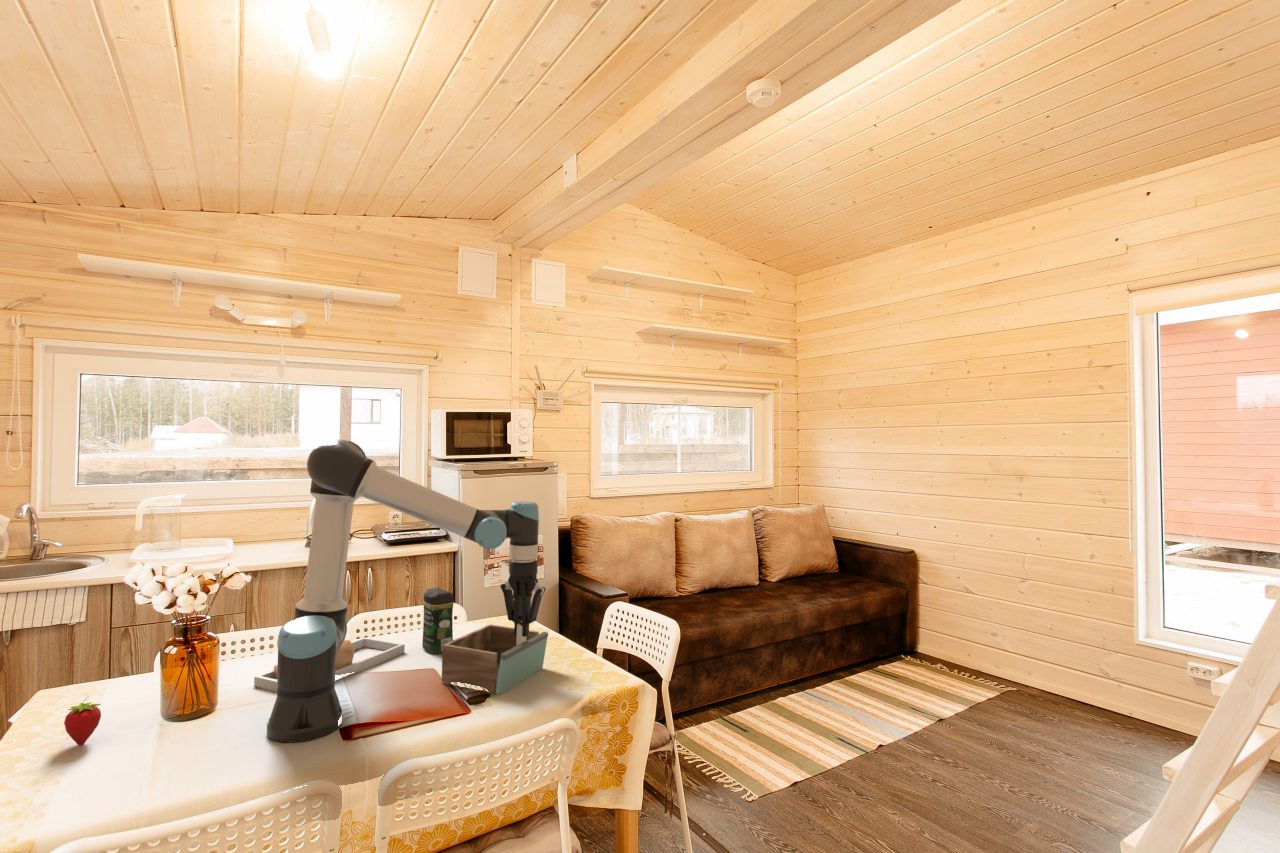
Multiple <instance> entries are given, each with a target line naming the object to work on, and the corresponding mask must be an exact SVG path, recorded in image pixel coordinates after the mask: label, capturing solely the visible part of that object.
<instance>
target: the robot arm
mask: <svg viewBox="0 0 1280 853" xmlns="http://www.w3.org/2000/svg"><path fill="white" fill-rule="evenodd" d="M306 470H307V473H308V476H309V478H310V479H311V483H310V489H309V490H310V491H309V494H310V495H312V496H313V498H314V499H315V505H314V506H315V507H314V513H313V522H312V529H311V536H310V537H311V538H310V545H309V551H308V552H309V553H308V558H307V559H308V561H307V568H306V577H305V583H304V584H305V585H304V590H303V591H304V593H303V597H302V599H300V600H299V601H298V602H297V603H296V604H295V608H294V614H293V620H290V621H288V622H286V623H285V624H283V626H281V628H280V629H279V633H278V637H277V665H278V672H277V692H276V698H275V701H274V704H273V707H272V710H271V714H270V717H269V718H268V720H267V724H266V736H267V737H268V739H270V740H272V741H275V742H280V743H297V742H306V741H310V740H315V739H317V738H321V737H324V736H327V735H329V734H330V733H331V734H332V732H334V731H336V730H337V729H339V727H338V720H339V718H340V717H341V715H342V713H343V709H342V707H341V704H340V703H341V702H340V700H339V697H338V694H337V692H336V681H335V661H336V655H337V652H338V650H339V648H340V646H341V645H342V643H343V641H344V640H346V636H347V632H348V625H347V624H348V623H347V613H348V603H347V601H345V599H344V598H343V592H344V583H345V576H346V569H347V560H348V552H349V551H348V550H349V544H350V543H349V542H350V537H351V528H352V521H353V512H354V506H355V504H354V503H355V502H356V501H357V500H358V499H359V498H365V499H366V500H367V499H368V500H370V501H372V502H374V503H378V504H379V505H382V506H384V507H387V508H390V509H393V510H394V511H397V512H400V513H402V514H405V515H408V516H410V517H413V518H415V519H417V520H420V521H423V522H425V523H428V524H429V525H433V526H435V527H437V528H440V529H442V530H444V531H447V532H450V533H452V534H454V535H458V536H459V537H463V538H465V539H467V540H469V541H471V542H474V543H476V544H478V545H479V546H480V547H482V548H484V549H486V550H487V549H488V550H493V549H497V548H499V547H500V546H502V545H503V544H504V542H505V541H506V539H509V553H508V554H509V555H508V558H509V559H510V560H509V563H508V574H509V577H508V578H507V581H506V582H504V583H502V584H500V586H499V587H500V589H501V591H502V593H503V598H504V604H505V609H506V616H507V620H509V621H512V622H513V624H514V627H513V628H514V634H515V635H517V641H516V646H517V645H519V644H521V643H523V642H525V641H526V636H528V635H529V630H530V624H532V623H534V622H536V621H537V618H538V613H539V609H540V606H541V600H542V598H543V595H544V594H545V592H546V587H544V586H541V585H540V584H539V581H538V578H537V575H538V563H539V562H538V560H537V559H538V554H539V553H538V550H539V524H540V519H539V518H540V515H539V514H540V513H539V504H537V503H536V502H534V501H513V502H512V503H511V504H510V507H509V509H499V510H498V509H478V508H475V507H474V506H471V505H469V504H466V503H464V502H461V501H459V500H458V499H455V498H452V497H450V496H448V495H445V494H443V493H441V492H437V491H436V490H433V489H431V488H429V487H427V486H423V485H422V484H419V483H416V482H415V481H412V480H410V479H407V478H405V477H402V476H400V475H398V474H396V473H393V472H390V471H388V470H386V469H383V468H381V467H379V466H378V465H377V462H376V460H373V459H371V458H368V457H367V455H366V453H365V452H364V450H363V448H362V447H361V446H359V445H358V444H357V443H355V442H353V441H350V440H346V439H335V440H327V441H323V442H322V443H319V444H318V445H317V446H316V447H314V448H313V449H312V451H311V452H310V453H309V455H308V457H307V462H306ZM533 593H534V594H533ZM532 596H533V598H532ZM342 716H343V715H342Z"/></svg>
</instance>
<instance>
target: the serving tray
mask: <svg viewBox="0 0 1280 853" xmlns="http://www.w3.org/2000/svg"><path fill="white" fill-rule="evenodd" d="M351 644H352V646H353V648H354V651H356V649H357V650H359V649H362V648H368V649H369V648H370V649H376V650H381V651H380V652H378V653H376V654H373V655H371V656H368V657H365V658H363V659H360V660H358V661H355V662H352V664H350V665H348V666H345V667H343V668H340V669H338V670H335V675H341V674H346V673H352V672H357V673H358V671H359V672H361V671H364V670H366V669H369V668H371V667H373V666H376V665H378V664H381V663H384V662H385V661H388V660H390V659H392V658H395V657H397V656H400V655H402V654H405V647H406V646H405V644H404V643H400V642H393V641H390V640H389V641H387V640H381V639H377V638H371V637H362V638H358V639H356V640H353V641H351ZM361 647H362V648H361ZM358 648H359V649H358ZM276 679H277V678H276V675H275V674H274V669H272V670H269V671H267V672H263V673H261V674H258V675H256V676H254V679H253V687H255V686H257V687H256V688H259V687H261V688H260V689H263V688H265V690H267V689H269V690H268V691H273V692H276V693H277V680H276Z"/></svg>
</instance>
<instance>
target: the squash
mask: <svg viewBox="0 0 1280 853" xmlns="http://www.w3.org/2000/svg"><path fill="white" fill-rule="evenodd" d="M351 642H352V641H351V640H350V639H344V641H343V643H342V645H341V646H340V648H339V650H338V652H337V655H336V661H335V670H338V669H340V668H343V667H345V666H348V665H350V664H353V660H354V656H355V650H354V648H353V646H352V644H351ZM273 670H274V674H275V675H276V678H277V672H278V664H276V665H273Z"/></svg>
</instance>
